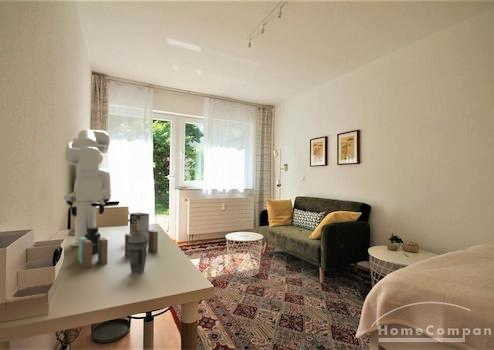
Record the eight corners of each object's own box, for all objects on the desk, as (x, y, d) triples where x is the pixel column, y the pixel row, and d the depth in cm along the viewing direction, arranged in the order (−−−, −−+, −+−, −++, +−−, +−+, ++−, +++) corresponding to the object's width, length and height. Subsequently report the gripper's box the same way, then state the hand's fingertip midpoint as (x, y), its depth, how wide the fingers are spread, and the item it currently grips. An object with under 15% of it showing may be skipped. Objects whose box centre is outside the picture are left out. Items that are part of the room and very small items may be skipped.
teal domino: (78, 260, 104) (78, 237, 105) (83, 259, 106) (84, 236, 106) (81, 263, 100) (81, 239, 100) (87, 262, 102) (87, 238, 102)
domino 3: (124, 255, 111) (125, 234, 111) (129, 254, 112) (129, 233, 112) (129, 258, 107) (129, 236, 107) (134, 257, 108) (134, 235, 108)
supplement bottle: (91, 255, 111) (92, 229, 111) (79, 254, 112) (80, 229, 113) (103, 251, 118) (103, 226, 118) (91, 250, 119) (92, 226, 119)
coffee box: (129, 242, 135) (129, 213, 135) (139, 239, 140) (139, 212, 141) (138, 244, 130) (139, 214, 130) (149, 241, 135) (149, 213, 136)
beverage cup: (127, 276, 87) (127, 221, 87) (127, 269, 93) (127, 218, 94) (148, 273, 90) (149, 220, 90) (147, 266, 97) (147, 217, 97)
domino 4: (148, 250, 119) (148, 230, 119) (152, 249, 120) (152, 229, 120) (153, 253, 115) (153, 232, 115) (157, 252, 116) (157, 231, 116)
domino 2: (97, 261, 103) (98, 238, 103) (103, 260, 104) (103, 237, 104) (101, 264, 99) (102, 240, 99) (107, 263, 100) (107, 239, 100)
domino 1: (82, 264, 99) (83, 240, 99) (88, 263, 100) (88, 239, 101) (86, 268, 95) (86, 243, 95) (92, 267, 96) (92, 242, 96)
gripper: (107, 176, 112) (107, 212, 112) (62, 175, 99) (61, 216, 99) (113, 175, 107) (113, 213, 107) (66, 175, 94) (65, 218, 94)
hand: (88, 215), depth 103 cm, fingers open, 9 cm apart
